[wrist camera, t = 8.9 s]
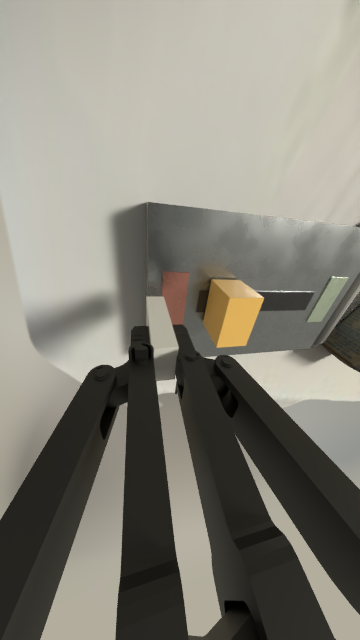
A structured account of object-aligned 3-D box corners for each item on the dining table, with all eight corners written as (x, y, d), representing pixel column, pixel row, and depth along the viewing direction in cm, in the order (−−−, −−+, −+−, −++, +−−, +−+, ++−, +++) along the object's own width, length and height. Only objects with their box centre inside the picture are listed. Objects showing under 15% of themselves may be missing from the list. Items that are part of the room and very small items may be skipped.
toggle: (211, 279, 17) (230, 298, 13) (240, 279, 17) (264, 297, 14) (202, 323, 19) (216, 347, 16) (227, 322, 20) (245, 345, 17)
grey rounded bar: (368, 215, 20) (394, 217, 18) (393, 219, 21) (419, 220, 19) (296, 341, 30) (307, 351, 28) (314, 340, 31) (326, 349, 29)
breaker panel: (146, 202, 15) (148, 202, 13) (356, 227, 20) (388, 230, 18) (146, 345, 24) (148, 362, 21) (295, 336, 29) (310, 349, 26)
